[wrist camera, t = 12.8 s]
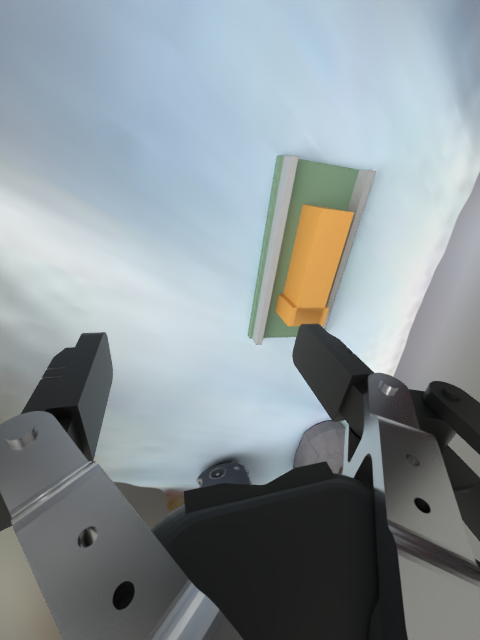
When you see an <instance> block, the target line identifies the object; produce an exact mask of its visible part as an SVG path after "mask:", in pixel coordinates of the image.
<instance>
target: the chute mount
mask: <svg viewBox="0 0 480 640" xmlns="http://www.w3.org/2000/svg"><path fill="white" fill-rule="evenodd" d="M298 158H299V157H297V156H292V155H289V156H277V159H276V165H275V172H274V178H273V184H272V190H271V196H270V202H269V208H268V215H267V221H266V227H265V233H264V239H263V245H262V251H261V258H260V264H259V270H258V276H257V282H256V288H255V294H254V300H253V307H252V313H251V319H250V325H249V331H248V336H249V338H253V340H254V342H255V344H256V345H262V341H263V338H269V337H297V333H298V329H299V326H287V325H286V324H285V322H284V321H283V320H282V319H281V317H280V316H279V315H278V314H277V313H276V311H275V309H276V305H277V300H278V295H279V294H283V292H284V288H285V283H286V279H287V274H288V269H289V265H290V260H291V256H292V251H293V247H294V242H295V237H296V233H297V228H298V224H299V219H300V215H301V210H302V205H303V204H305V205H313V206H321V207H328V208H335V209H339V210H344V211H349V212H354V215H353V218H352V221H351V224H350V228H349V231H348V234H347V237H346V241H345V244H344V247H343V250H342V254H341V257H340V260H339V263H338V267H337V270H336V273H335V276H334V280H333V283H332V286H331V289H330V293H329V296H328V299H327V302H326V306H327V307H329V310H328V313H327V316H326V320H325V323H324V326H322V327H323V328H324V329H325V328H326V324H327V321H328V318H329V315H330V312H331V309H332V306H333V303H334V300H335V297H336V293H337V290H338V287H339V284H340V281H341V278H342V275H343V272H344V269H345V265H346V262H347V259H348V256H349V253H350V250H351V247H352V244H353V241H354V238H355V234H356V231H357V228H358V225H359V222H360V219H361V216H362V213H363V210H364V206H365V203H366V200H367V197H368V194H369V191H370V188H371V185H372V182H373V179H374V175H375V172H376V171H373V170H356V169H351V168H345V167H340V166H334V165H329V164H323V163H318V162H312V161H307V160H301V159H298Z"/></svg>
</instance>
